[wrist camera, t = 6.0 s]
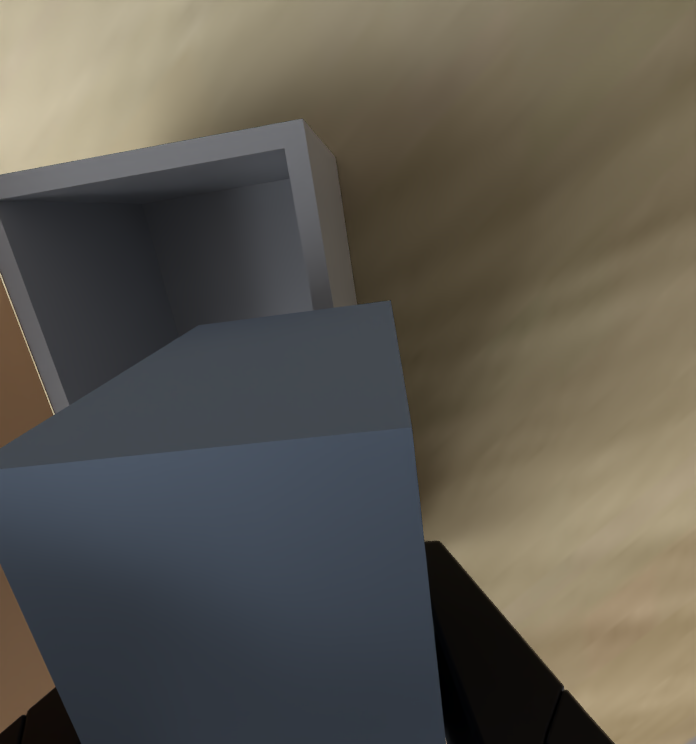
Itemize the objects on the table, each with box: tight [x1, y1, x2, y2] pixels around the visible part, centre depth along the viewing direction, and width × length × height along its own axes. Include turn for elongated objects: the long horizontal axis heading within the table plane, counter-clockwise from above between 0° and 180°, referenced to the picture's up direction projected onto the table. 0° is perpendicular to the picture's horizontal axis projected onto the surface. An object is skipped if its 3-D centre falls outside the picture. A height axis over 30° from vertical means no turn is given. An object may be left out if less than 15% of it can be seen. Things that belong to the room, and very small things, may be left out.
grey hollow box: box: [0, 119, 357, 414], centre depth 14 cm, size 15×6×6 cm, turn 9°
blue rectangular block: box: [0, 300, 446, 744], centre depth 7 cm, size 9×3×5 cm, turn 8°
